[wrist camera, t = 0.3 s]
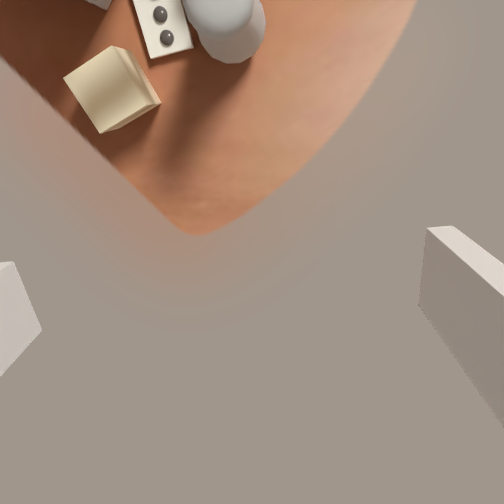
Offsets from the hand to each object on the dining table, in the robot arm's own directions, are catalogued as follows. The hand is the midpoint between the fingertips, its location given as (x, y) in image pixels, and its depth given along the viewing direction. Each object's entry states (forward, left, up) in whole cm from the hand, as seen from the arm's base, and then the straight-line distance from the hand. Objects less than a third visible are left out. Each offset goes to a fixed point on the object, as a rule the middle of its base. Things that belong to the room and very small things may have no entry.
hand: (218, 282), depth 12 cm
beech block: (-8, -10, -28) cm, 31 cm away
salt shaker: (-11, +1, -28) cm, 30 cm away
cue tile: (-13, -5, -28) cm, 31 cm away
